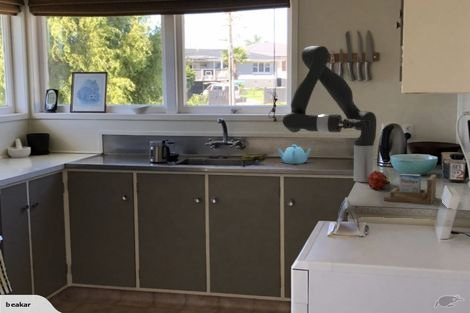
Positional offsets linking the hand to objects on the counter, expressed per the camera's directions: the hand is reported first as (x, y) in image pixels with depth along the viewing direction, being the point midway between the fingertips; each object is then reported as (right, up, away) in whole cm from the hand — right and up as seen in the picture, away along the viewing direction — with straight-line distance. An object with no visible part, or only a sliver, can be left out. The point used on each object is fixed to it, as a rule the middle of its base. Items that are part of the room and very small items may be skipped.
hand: (367, 124), depth 251 cm
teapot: (-20, -17, +108) cm, 111 cm away
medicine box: (+16, -29, -6) cm, 34 cm away
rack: (+16, -31, -6) cm, 35 cm away
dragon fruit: (+9, -28, +19) cm, 35 cm away
